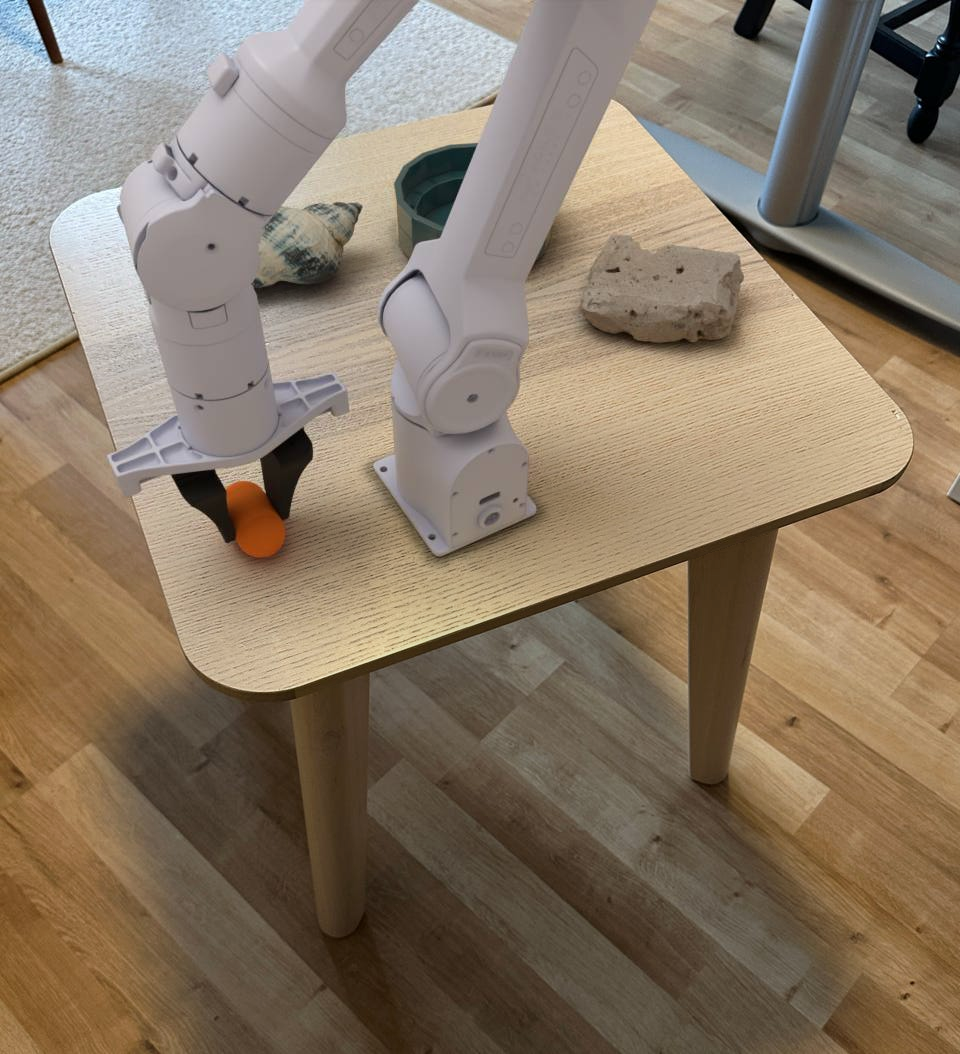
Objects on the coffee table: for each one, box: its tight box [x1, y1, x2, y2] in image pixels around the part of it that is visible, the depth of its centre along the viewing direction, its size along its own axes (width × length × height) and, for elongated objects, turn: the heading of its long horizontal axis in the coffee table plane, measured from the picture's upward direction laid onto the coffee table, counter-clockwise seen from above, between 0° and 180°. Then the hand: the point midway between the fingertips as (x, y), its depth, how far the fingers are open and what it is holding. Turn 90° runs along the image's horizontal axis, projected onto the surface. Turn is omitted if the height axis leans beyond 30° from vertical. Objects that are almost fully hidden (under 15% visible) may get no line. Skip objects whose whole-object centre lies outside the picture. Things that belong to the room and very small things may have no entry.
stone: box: [578, 233, 745, 343], centre depth 86 cm, size 13×6×10 cm
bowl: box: [393, 142, 553, 262], centre depth 92 cm, size 13×13×5 cm
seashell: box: [251, 201, 364, 288], centre depth 88 cm, size 6×8×12 cm
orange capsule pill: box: [225, 480, 287, 559], centre depth 71 cm, size 6×3×3 cm, turn 30°
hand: (253, 520), depth 71 cm, fingers closed on orange capsule pill, 3 cm apart
